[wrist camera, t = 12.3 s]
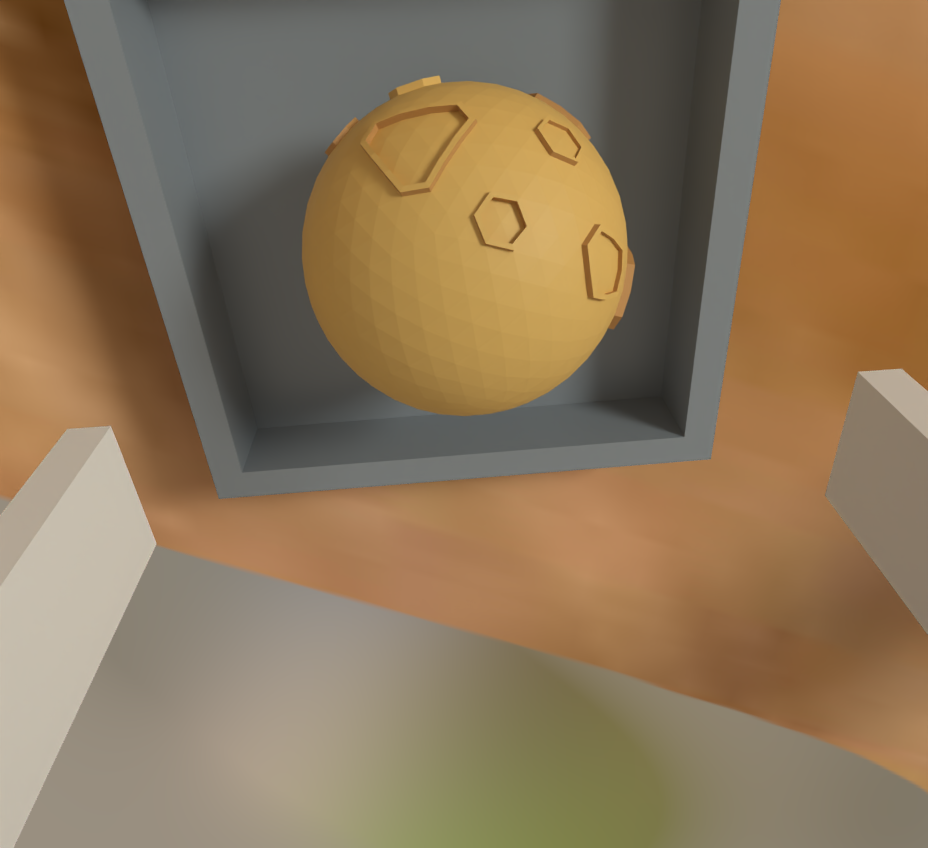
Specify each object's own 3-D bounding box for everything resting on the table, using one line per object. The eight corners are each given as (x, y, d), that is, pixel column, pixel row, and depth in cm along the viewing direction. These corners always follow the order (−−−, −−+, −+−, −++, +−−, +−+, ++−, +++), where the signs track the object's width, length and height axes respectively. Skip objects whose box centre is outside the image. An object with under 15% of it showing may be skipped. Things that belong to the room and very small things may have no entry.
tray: (747, -152, 22) (806, -173, 19) (680, 408, 33) (710, 459, 29) (87, -106, 22) (27, -118, 18) (239, 443, 33) (219, 499, 29)
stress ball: (438, 344, 31) (662, 401, 25) (246, 410, 23) (502, 510, 18) (442, 85, 27) (708, 85, 21) (213, 66, 19) (528, 58, 14)
